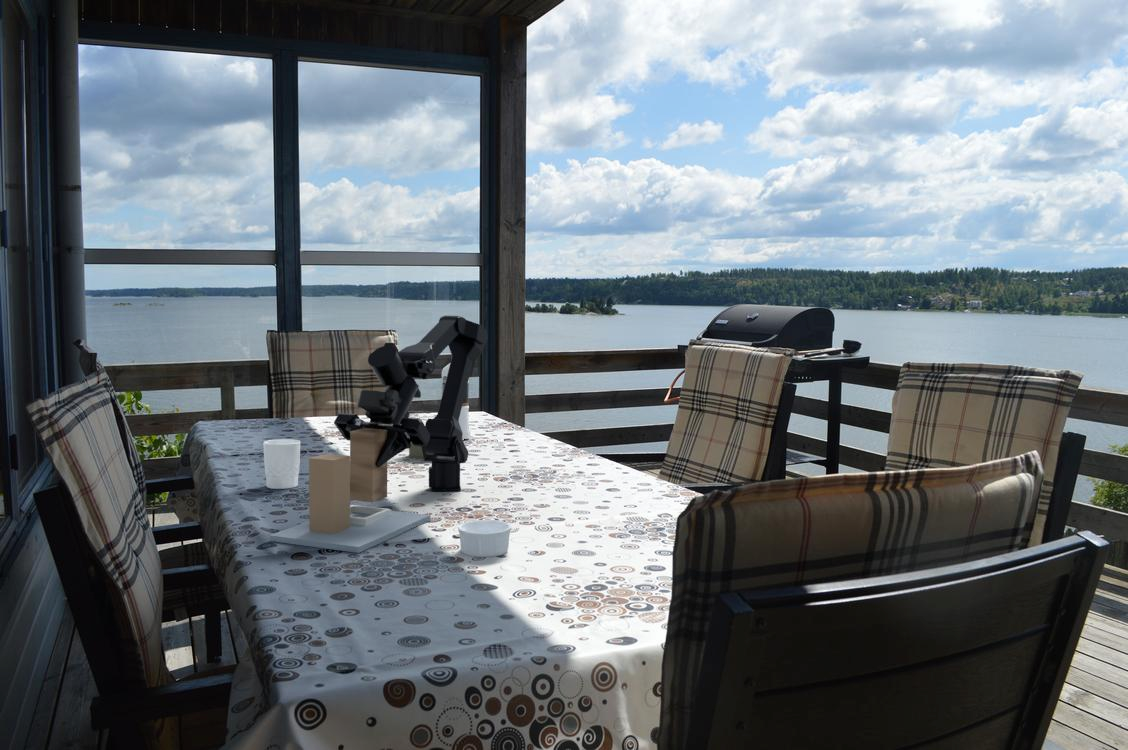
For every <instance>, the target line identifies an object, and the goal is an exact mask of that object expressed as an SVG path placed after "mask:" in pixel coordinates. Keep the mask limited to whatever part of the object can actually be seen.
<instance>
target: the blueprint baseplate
mask: <svg viewBox="0 0 1128 750" xmlns="http://www.w3.org/2000/svg"><path fill="white" fill-rule="evenodd" d="M308 497H309V498H308V501H309V503H308V506H309V507H308V512H309V513H308V514H309V515H308V517H309V520H307V521H306V522H302V523H300V524H296V525H294V526H291V527H288V528H286V529H283V530H280V531H278V532H275V533H273V534H269V542H274V541H275V542H276V543H281V544H282V543H283V544H284V543H285V544H290V545H298V546H306V547H313V548H318V549H319V548H320V549H326V550H327V549H328V550H335V551H341V552H350V553H355V554H356V553H357V554H360V553H361V552H363V551H366V550H368V549H371V548H373V547H375V546H377V545H379V544H382V543H385V542H386V541H388V540H390V539H393V538H395V537H397V536H399V535H402V534H404V533H405V531H406V532H408V531H410V530H412V529H414V527H415V528H417V527H419V526H421V525H424V524H425V523H427V522H430V521H431V514H426V513H425V514H424V513H423V514H422V513H416V512H415V513H414V512H405V511H397V510H392V509H390V508H385V507H384V508H383V507H375V506H365V505H357V504H351V500H350V455H344V454H343V455H342V454H336V453H335V454H334V453H324V454H320V455H317V456H316V455H315V456H312V457H309V458H308ZM416 526H417V527H416ZM411 528H412V529H411ZM409 529H410V530H409ZM407 530H408V531H407ZM403 532H404V533H403Z"/></svg>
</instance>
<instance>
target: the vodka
mask: <svg viewBox="0 0 1128 750" xmlns="http://www.w3.org/2000/svg"><path fill="white" fill-rule="evenodd" d="M450 363H451V362H450ZM450 363H448V364H447V365H446V366H444V367H443V369H442V370H441V383H442V384H441V385H442V386H441V395H442V394H443V390H444V386H445V382H446V379H447V375H448V371H449V367H450ZM469 383H470V379H469V380H468V384H467V388H466V392H465V396H464V400H463V404H462V408H461V413H460V417H459V424H460V427H461V430H462V433H463V435H462V441H464V440H463V439H467V440H468V439H470V437H471V429H470V422H469V409H470V406H469V388H470V387H469V386H470V384H469Z"/></svg>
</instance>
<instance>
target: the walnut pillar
mask: <svg viewBox="0 0 1128 750" xmlns="http://www.w3.org/2000/svg"><path fill="white" fill-rule="evenodd" d="M386 438H387V430H381V429H371V428H363V429H359V430H355V431H350V441H349V456H350V501H356V502H357V501H358V502H366V503H374V502H377V501H380V500H383V499H385V498H388V461H387V462H386V463H384V464H383V465H382V466H380V467H377V466H376V461H377V458H378V456H379V453H380V451H381V449H382V447H383V445H384V443H385V441H386Z"/></svg>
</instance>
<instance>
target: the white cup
mask: <svg viewBox="0 0 1128 750" xmlns="http://www.w3.org/2000/svg"><path fill="white" fill-rule="evenodd" d="M262 445H263V463H264V474H265V479H266V480H265V483H266V485H265V486H266V487H267V488H268V489H272V490H273V489H274V490H284V489H285V490H287V489H292V488H293V489H294V488H295V487H297V486H299V474H300V465H301V464H300V463H301V461H300V460H301V457H300V456H301V440H299V439H291V438H281V439H280V438H279V439H276V438H275V439H269V440H265V441H263V444H262Z"/></svg>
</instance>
